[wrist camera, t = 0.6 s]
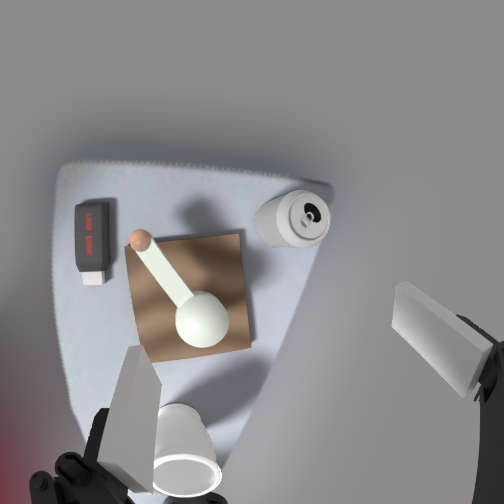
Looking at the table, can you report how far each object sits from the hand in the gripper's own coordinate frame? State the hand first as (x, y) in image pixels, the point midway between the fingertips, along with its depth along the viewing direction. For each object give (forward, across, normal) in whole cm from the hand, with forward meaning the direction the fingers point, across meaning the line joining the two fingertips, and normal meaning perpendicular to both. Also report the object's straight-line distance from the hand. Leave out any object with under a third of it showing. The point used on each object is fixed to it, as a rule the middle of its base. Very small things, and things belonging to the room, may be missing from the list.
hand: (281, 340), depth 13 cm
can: (+32, -7, +3) cm, 33 cm away
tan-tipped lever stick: (+23, +9, +5) cm, 25 cm away
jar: (+21, +16, +31) cm, 41 cm away
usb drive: (+29, +21, -1) cm, 36 cm away
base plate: (+28, +8, +10) cm, 31 cm away
